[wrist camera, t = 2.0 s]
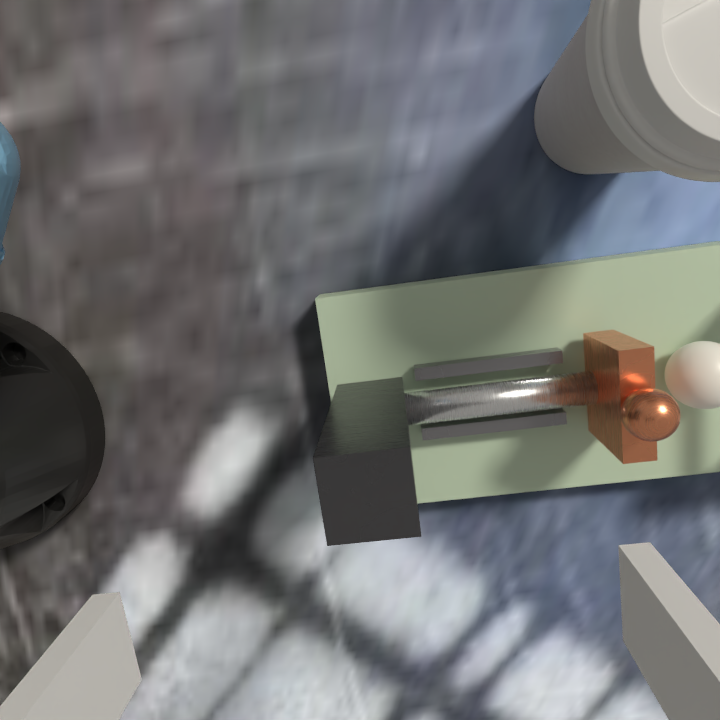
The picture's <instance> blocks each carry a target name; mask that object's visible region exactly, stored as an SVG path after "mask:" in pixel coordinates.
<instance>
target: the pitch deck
mask: <svg viewBox="0 0 720 720" xmlns="http://www.w3.org/2000/svg"><path fill="white" fill-rule="evenodd" d="M315 301H316V308H317V314H318V321H319V327H320V334H321V340H322V347H323V353H324V360H325V366H326V373H327V379H328V386H329V392H330V399H331V402H332V399H333V396H334V393H335V390H336V387H337V385H339V384H347V383H355V382H363V381H372V380H380V379H388V378H396V377H402V378H403V386H404V393H408V392H416V391H425V390H433V389H442V388H450V387H458V386H467V385H475V384H483V383H492V382H500V381H509V380H517V379H525V378H534V377H542V376H551V375H559V374H567V373H576V372H584V371H585V359H584V341H583V333H589V332H597V331H605V330H616V331H618V332H621V333H623V334H625V335H628V336H630V337H633V338H635V339H637V340H640V341H642V342H645V343H647V344H649V345H652V346H654V356H655V388H656V389H660V390H662V391H664V392H666V393H668V394H669V395H671V396H672V397H673V398H674V399H675V401H676V402H677V404H678V406H679V408H680V413H681V419H680V423H679V426H678V428H677V429H676V431H675V432H674V433H673V434H672V435H671V436H669V437H668V438H666V439H664V440H660V441H657V461H648V462H638V463H629V464H623V463H622V462H621V461H619V460H618V459H617V458H616V457H615V456H614V455H613V454H612V453H611V452H610V451H609V450H608V449H607V448H606V447H605V446H604V445H603V444H602V443H601V442H600V441H599V440H598V439H597V438H596V437H595V436H594V435H593V434H592V433H591V432H590V431H588V413H587V405H583V406H575V407H566V408H562V409H563V410H564V411H565V412H566V416H567V424H565V425H556V426H547V427H538V428H529V429H521V430H512V431H503V432H494V433H485V434H476V435H467V436H458V437H450V438H441V439H432V440H423V438H422V432H421V424H418V425H409V434H410V442H411V451H412V460H413V468H414V477H415V486H416V495H417V503H427V502H436V501H446V500H456V499H465V498H475V497H484V496H494V495H503V494H513V493H523V492H532V491H542V490H551V489H561V488H570V487H580V486H590V485H599V484H609V483H618V482H628V481H637V480H647V479H656V478H666V477H676V476H685V475H695V474H704V473H714V472H720V407H718V408H714V409H697V408H692V407H689V406H687V405H685V404H683V403H681V402H680V401H678V400H677V399H676V398H675V397H674V396H673V395H672V394H671V393H670V391H669V389H668V388H667V385H666V382H665V367H666V364H667V362H668V360H669V358H670V357H671V355H672V354H673V353H674V352H675V351H676V350H678V349H679V348H680V347H682V346H684V345H686V344H689V343H692V342H697V341H711V342H716V343H719V344H720V241H715V242H708V243H700V244H693V245H685V246H678V247H670V248H663V249H656V250H648V251H641V252H633V253H626V254H618V255H611V256H603V257H596V258H588V259H581V260H573V261H566V262H558V263H551V264H543V265H536V266H528V267H521V268H513V269H506V270H498V271H491V272H484V273H476V274H469V275H461V276H454V277H446V278H439V279H431V280H424V281H416V282H409V283H401V284H394V285H386V286H379V287H371V288H364V289H356V290H349V291H341V292H334V293H326V294H320V295H319V296H318V297H316V298H315ZM556 347H558V348H559V349H561V350H562V353H563V363H560V364H552V365H543V366H535V367H527V368H518V369H510V370H502V371H494V372H485V373H477V374H469V375H460V376H452V377H444V378H436V379H427V380H419V381H416V380H415V374H414V365H417V364H425V363H434V362H442V361H450V360H458V359H466V358H474V357H482V356H491V355H499V354H507V353H515V352H523V351H531V350H539V349H548V348H556Z"/></svg>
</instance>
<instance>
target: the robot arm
mask: <svg viewBox="0 0 720 720" xmlns="http://www.w3.org/2000/svg"><path fill="white" fill-rule="evenodd" d="M20 170H21V168H20V157H19V153H18V150H17V147H16V145H15V143H14V140H13V139H12V137H11V135H10V134H9V132H8V131H7V129H6V128H5V127H4V125H3V124H2V123H1V122H0V264H1V262H2V260H3V257H4V255H5V250H4V247H3V245H2V242H3V238H4V234H5V231H6V227H7V223H8V219H9V216H10V212H11V208H12V205H13V201H14V197H15V193H16V190H17V186H18V182H19V179H20ZM104 448H105V427H104V419H103V414H102V410H101V406H100V403H99V400H98V397H97V394H96V392H95V390H94V388H93V385H92V384H91V382H90V380H89V378H88V376H87V375H86V373H85V372H84V370H83V369H82V367H81V366H80V364H79V363H78V362H77V361H76V359H75V358H74V357H73V356H72V355H71V354H70V352H69V351H68V350H67V349H66V348H65V347H64V346H62V345H61V344H60V343H59V342H58V341H57V340H56V339H54V338H53V337H52V336H51V335H49V334H48V333H46V332H45V331H43V330H42V329H40V328H39V327H37V326H35V325H33V324H31V323H29V322H27V321H25V320H23V319H21V318H18V317H15V316H13V315H10V314H6V313H3V312H0V549H2V548H5V547H8V546H11V545H14V544H17V543H20V542H23V541H26V540H28V539H31V538H33V537H35V536H37V535H39V534H41V533H42V532H44V531H46V530H47V529H49V528H50V527H52V526H53V525H55V524H56V523H57V522H58V521H59V520H61V519H62V518H63V517H64V516H65V515H66V514H68V513H69V512H70V511H71V510H72V509H73V508H74V507H76V506H77V505H78V504H79V503H80V502H81V501H82V499H83V498H84V497H85V496H86V495H87V493H88V492H89V490H90V489H91V487H92V485H93V484H94V482H95V480H96V478H97V476H98V473H99V470H100V468H101V464H102V460H103V455H104ZM619 565H620V586H621V607H622V628H623V641H624V643H625V645H626V646H627V648H628V650H629V652H630V653H631V655H632V657H633V659H634V660H635V662H636V664H637V666H638V667H639V669H640V671H641V672H642V674H643V676H644V678H645V679H646V681H647V683H648V685H649V686H650V688H651V690H652V691H653V693H654V695H655V697H656V698H657V700H658V702H659V704H660V705H661V707H662V709H663V711H664V712H665V714H666V716H667V717H668V719H669V720H720V624H719V623H718V622H717V621H716V619H715V618H714V617H713V616H712V615H711V614H710V612H709V611H708V610H707V609H706V608H705V606H704V605H703V604H702V603H701V602H700V601H699V599H698V598H697V597H696V596H695V595H694V594H693V592H692V591H691V590H690V589H689V588H688V587H687V585H686V584H685V583H684V582H683V581H682V579H681V578H680V577H679V576H678V575H677V574H676V572H675V571H674V570H673V569H672V568H671V567H670V565H669V564H668V563H667V562H666V561H665V560H664V558H663V557H662V556H661V555H660V554H659V552H658V551H657V550H656V549H655V548H654V547H653V545H652V544H651V543H650V542H649V543H638V544H628V545H619ZM141 680H142V679H141V675H140V671H139V667H138V663H137V659H136V655H135V651H134V647H133V643H132V639H131V635H130V631H129V627H128V623H127V619H126V615H125V611H124V607H123V603H122V600H121V596H120V592H117V593H106V594H95V595H92V596H91V597H90V599H89V600H88V601H87V602H86V603H85V605H84V606H83V607H82V608H81V609H80V611H79V612H78V613H77V614H76V615H75V617H74V618H73V619H72V620H71V621H70V623H69V624H68V625H67V626H66V627H65V629H64V630H63V631H62V632H61V633H60V635H59V636H58V637H57V638H56V639H55V641H54V642H53V643H52V644H51V645H50V647H49V648H48V649H47V650H46V652H45V653H44V654H43V655H42V656H41V658H40V659H39V660H38V661H37V662H36V664H35V665H34V666H33V667H32V668H31V670H30V671H29V672H28V673H27V674H26V676H25V677H24V678H23V679H22V680H21V682H20V683H19V684H18V685H17V686H16V688H15V689H14V690H13V691H12V692H11V694H10V695H9V696H8V697H7V698H6V700H5V701H4V702H3V703H2V704H1V706H0V720H119V719H120V717H121V715H122V714H123V712H124V710H125V708H126V706H127V705H128V703H129V701H130V699H131V698H132V696H133V694H134V692H135V690H136V689H137V687H138V685H139V683H140V681H141Z"/></svg>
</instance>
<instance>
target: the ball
mask: <svg viewBox="0 0 720 720" xmlns="http://www.w3.org/2000/svg"><path fill="white" fill-rule="evenodd" d="M665 382H666V385H667V388H668V389H669V391H670V393H671V394H672V395H673V396H674V397H675V398H676V399H677V400H678V401H680V402H681V403H683V404H685V405H687V406H689V407H692V408H697V409H714V408H718V407H720V344H719V343H716V342H711V341H697V342H692V343H689V344H686V345H684V346H682V347H680V348H679V349H678V350H676V351H675V352H674V353H673V354H672V355H671V357H670V358H669V360H668V362H667V364H666V367H665Z"/></svg>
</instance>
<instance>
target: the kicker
mask: <svg viewBox="0 0 720 720" xmlns="http://www.w3.org/2000/svg"><path fill="white" fill-rule="evenodd" d="M583 341H584V359H585V371H584V372H576V373H567V374H559V375H551V376H542V377H534V378H525V379H517V380H509V381H500V382H492V383H483V384H475V385H467V386H458V387H450V388H442V389H433V390H425V391H416V392H408V393H404V386H403V378H402V377H396V378H388V379H380V380H372V381H363V382H355V383H347V384H339V385H337V387H336V390H335V393H334V396H333V399H332V402H331V405H330V408H329V411H328V414H327V417H326V420H325V423H324V426H323V429H322V432H321V435H320V438H319V441H318V444H317V447H316V450H315V453H314V456H313V461H314V467H315V474H316V480H317V486H318V492H319V498H320V504H321V510H322V516H323V522H324V528H325V534H326V541H327V546H331V545H341V544H351V543H361V542H371V541H381V540H391V539H401V538H411V537H421V529H420V521H419V512H418V503H417V495H416V486H415V477H414V468H413V460H412V451H411V442H410V434H409V425H418V424H427V423H435V422H444V421H453V420H462V419H470V418H479V417H488V416H496V415H505V414H514V413H523V412H531V411H540V410H549V409H557V408H566V407H575V406H583V405H587V413H588V431H590V432H591V433H592V434H593V435H594V436H595V437H596V438H597V439H598V440H599V441H600V442H601V443H602V444H603V445H604V446H605V447H606V448H607V449H608V450H609V451H610V452H611V453H612V454H613V455H614V456H615V457H616V458H617V459H618V460H619V461H621V462H622V463H623V464H629V463H638V462H648V461H657V441H660V440H664V439H666V438H668V437H669V436H671V435H672V434H673V433H674V432H675V431H676V429H677V428H678V426H679V423H680V419H681V413H680V408H679V406H678V404H677V402H676V401H675V399H674V398H673V397H672V396H671V395H669V394H668V393H666V392H664V391H662V390H660V389H656V388H655V356H654V346H652V345H649V344H647V343H645V342H642V341H640V340H637V339H635V338H633V337H630V336H628V335H625V334H623V333H621V332H618V331H616V330H605V331H597V332H589V333H583Z"/></svg>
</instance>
